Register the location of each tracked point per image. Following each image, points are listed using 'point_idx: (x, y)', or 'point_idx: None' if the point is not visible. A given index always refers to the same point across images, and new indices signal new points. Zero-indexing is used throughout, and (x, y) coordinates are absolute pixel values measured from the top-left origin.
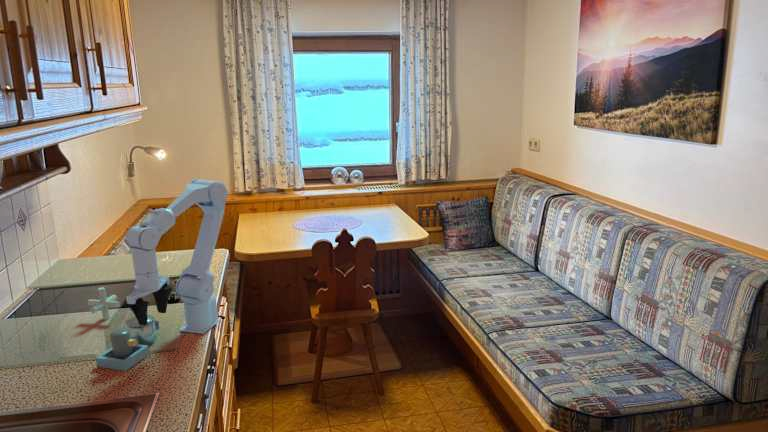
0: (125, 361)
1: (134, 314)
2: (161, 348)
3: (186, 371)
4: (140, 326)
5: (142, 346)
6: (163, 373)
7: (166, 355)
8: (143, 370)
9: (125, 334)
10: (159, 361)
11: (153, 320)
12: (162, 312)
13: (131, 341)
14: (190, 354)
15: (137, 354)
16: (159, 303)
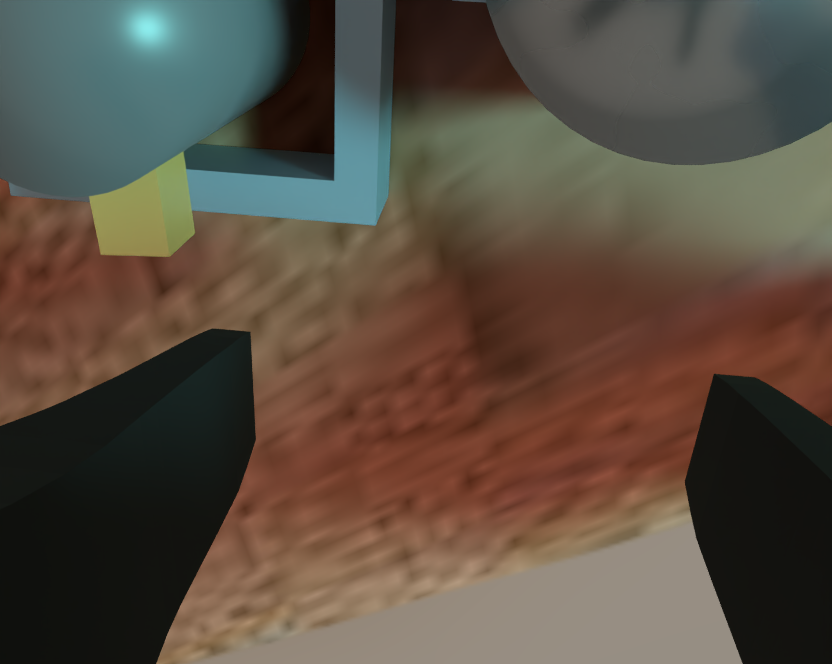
0: (25, 196)
1: (66, 403)
2: (516, 241)
3: (232, 592)
4: (515, 67)
5: (343, 169)
6: None
7: (401, 357)
8: (133, 311)
9: (32, 175)
10: (295, 355)
11: (743, 154)
12: (694, 456)
13: (96, 232)
14: (455, 521)
15: (204, 205)
16: (773, 532)
